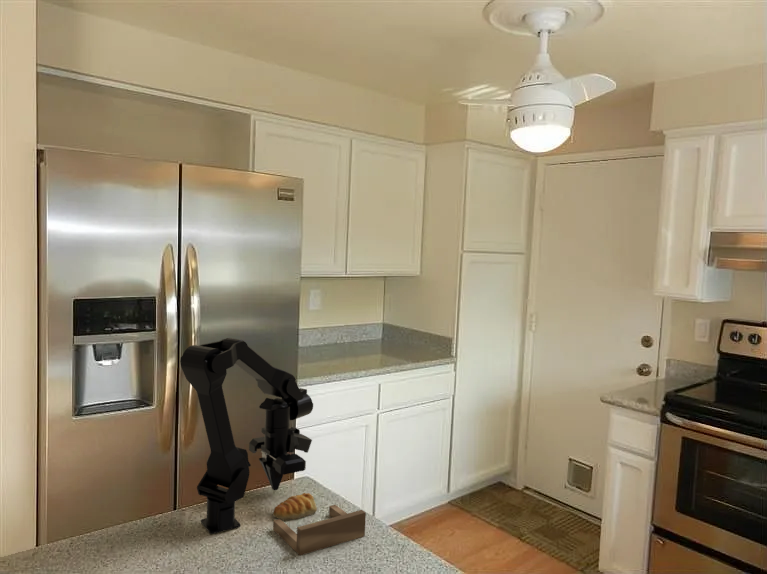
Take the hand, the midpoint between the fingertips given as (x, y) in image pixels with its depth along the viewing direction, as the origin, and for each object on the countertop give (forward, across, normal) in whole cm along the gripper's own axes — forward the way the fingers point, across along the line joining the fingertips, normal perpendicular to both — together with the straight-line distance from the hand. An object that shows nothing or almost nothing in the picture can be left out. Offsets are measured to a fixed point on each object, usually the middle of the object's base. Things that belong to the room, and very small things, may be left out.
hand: (275, 489), depth 138 cm
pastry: (+2, -10, 0) cm, 11 cm away
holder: (+2, -20, 0) cm, 20 cm away
